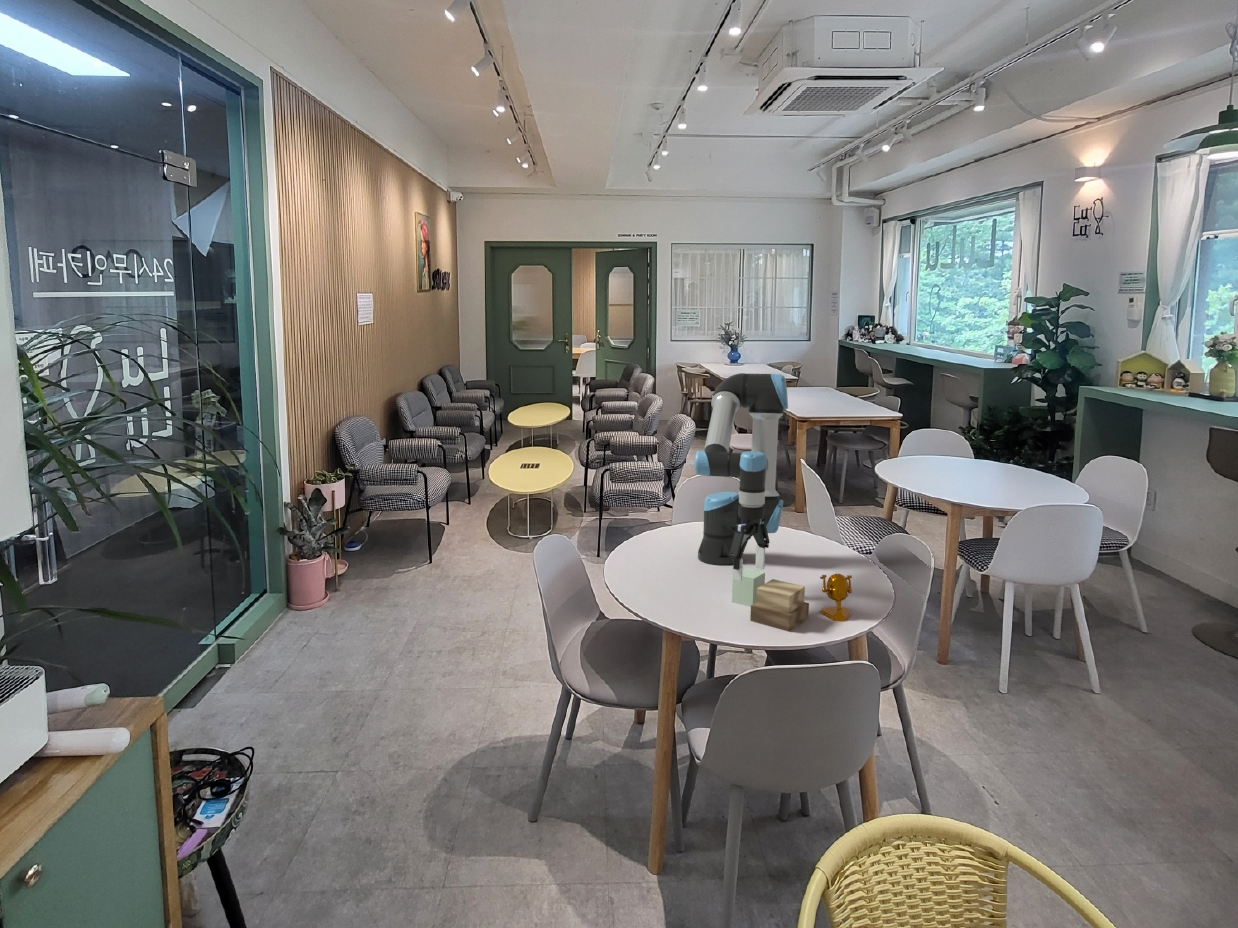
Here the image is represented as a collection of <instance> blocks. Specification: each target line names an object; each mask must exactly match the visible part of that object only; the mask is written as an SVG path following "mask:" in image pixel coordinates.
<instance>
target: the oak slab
mask: <svg viewBox="0 0 1238 928" xmlns="http://www.w3.org/2000/svg"><path fill="white" fill-rule="evenodd" d="M805 592H806V586H805V585H800V584H796V583H792V582H787V581H782V580H778V579H775V578H774V579H770V580H769V581H767V582H765V584H764V585H762V586H760V587H759V588H757V595H756V606H760V607H764V608H768V609H772V610H776V611H781V612H785V613H790V612H792V611H793V610H795V609H796V608H798V607H799V606H800V605H802V604H803V603H804V602H805V594H806V593H805Z"/></svg>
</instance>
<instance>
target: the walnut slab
mask: <svg viewBox="0 0 1238 928" xmlns="http://www.w3.org/2000/svg"><path fill="white" fill-rule="evenodd" d="M809 609H810V603H809V602H806V601H804V603H803V604H802V605H800V606H799V607H798V608H796V609H795V610H793V611H792V612H790V613H785V612H781V611H776V610H772V609H768V608H764V607H760V606H756V603H754V604H753V605H751V607H750V616H749V617H750V618H749V619H750V622H753V623H757V624H761V625H764V626H768V627H771V628H774V629H778V630H781V631H784V632H791V631H792V630H794V629H795V628H797V627H798V626H799V625H801V624H802V623H804V622H806V621H807V620H808V619H809V612H810V610H809Z"/></svg>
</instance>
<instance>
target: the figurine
mask: <svg viewBox="0 0 1238 928" xmlns="http://www.w3.org/2000/svg"><path fill="white" fill-rule="evenodd" d="M852 577H853V576H852V575H849V574H848V575H847V576H845V575H844V574H841V573H833V574H832V575H829V578H828V579H827V574H822V575H821V576H819V578H820V580H822V581H823V582H822V589H821V591H822V593H824V594H826V596H827V597H828V599H830V600H831V601H835V604H836V606H837V607H836V606H827V607H823V608H822V609H820V614H822V615H823V616H825V617H826V618H828V619H829V620H832V621H834V622H846V621H847V620H848V619H849V618H850V617H851V615H852V614H851V613H852V611H850V610H849V609H847V608H845V607H842V601H844V600H846V599H847V598H848V595H849V594H852V593H853V590H852V581H851V579H852ZM826 579H827V581H826Z"/></svg>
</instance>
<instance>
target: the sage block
mask: <svg viewBox="0 0 1238 928" xmlns="http://www.w3.org/2000/svg"><path fill="white" fill-rule="evenodd" d="M765 583H766V572H765V571H760V570H755V569H752V568H747V567H743V571H742V580H741V581H740V580H736V579H733V578H732V586H731V587H732V588H731V589H732V590H731V603H735V604H738V605H741V606H744V607H749V608H751V605H753V604H754V603H756V595H757V588H759V587H760V586H762V585H764V584H765Z"/></svg>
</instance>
